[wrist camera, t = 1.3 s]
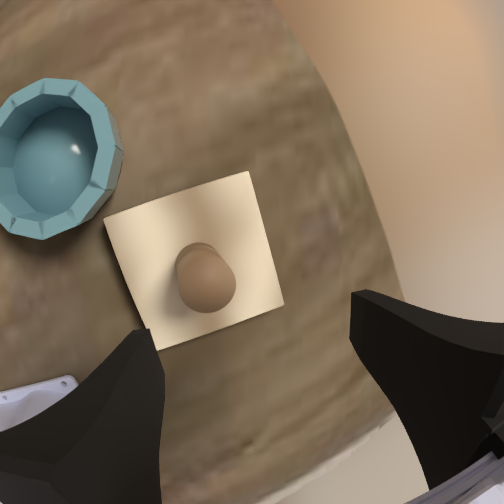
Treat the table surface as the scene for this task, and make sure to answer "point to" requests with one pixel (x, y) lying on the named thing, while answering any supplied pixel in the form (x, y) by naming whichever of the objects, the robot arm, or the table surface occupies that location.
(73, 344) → the table surface
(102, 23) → the table surface
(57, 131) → the bowl
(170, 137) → the table surface
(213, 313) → the lid
